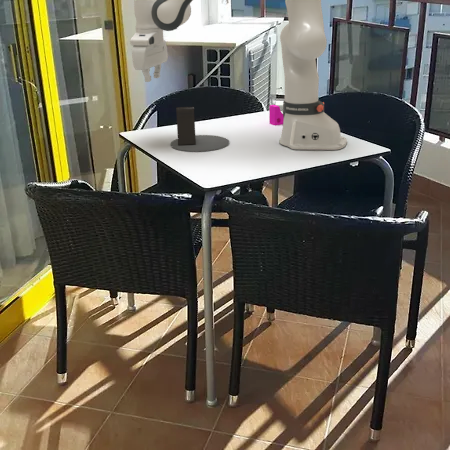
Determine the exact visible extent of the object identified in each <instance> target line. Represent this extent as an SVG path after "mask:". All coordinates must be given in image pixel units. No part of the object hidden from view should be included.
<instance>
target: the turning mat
mask: <svg viewBox="0 0 450 450" xmlns="http://www.w3.org/2000/svg"><path fill="white" fill-rule="evenodd" d="M195 139H196V145H180V146H178V138H175V139H173V140H172V141H171V142H170V147H171V148H173V149H174V150H177V151H179V152H180V151H181V152H188V153H202V152H204V153H205V152H211V151H212V152H213V151H217V150H218V151H219V150H221V149H225V148H226V147H228V146H229V145H230V140H229V139H228V138H226V137H223V136H219V135H211V134H209V135H208V134H195Z"/></svg>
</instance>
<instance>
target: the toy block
mask: <svg viewBox="0 0 450 450" xmlns="http://www.w3.org/2000/svg"><path fill="white" fill-rule="evenodd" d="M268 107H269V113H268V114H269V125H272V126H275V127H276V126H281V125H282V126H283V121H284V117H283V111H282V110H281V107H280V106H279V105H276V104H270V105H269V106H268Z"/></svg>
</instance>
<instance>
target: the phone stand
mask: <svg viewBox="0 0 450 450" xmlns="http://www.w3.org/2000/svg"><path fill="white" fill-rule="evenodd" d="M175 109H176V110H175V111H176V127H177V129H176V131H177V139H178V146H180V145H196V139H195V135H196V122H195V121H196V120H195V106H179V107H178V106H177V107H176V108H175Z"/></svg>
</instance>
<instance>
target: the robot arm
mask: <svg viewBox="0 0 450 450" xmlns="http://www.w3.org/2000/svg"><path fill="white" fill-rule="evenodd" d="M193 1H194V0H133V7H134V17H135V20H136V21H135V33H134V34H133V36H132V37H131V38H130V40H129V42H130V43H129V44H130V46H131V55H132V65H133V67H134V69H135V70H136V71H141V72H142V74H143V76H144V81H145V82H146V83H149V82H152V75H151V74H150V71H151V68H154V71H153V79H160V78H161V70H162V64H165V63H167V62H168V59H169V58H168V57H169V56H168V55H169V54H168V47H167V42H166V40H164V39H165V38H164V31H166V32H171V31H174V30H176V29H178V28H179V27H180V26H182V25H184V24H185V23H186V22H187V21H188V20H189V19H190V17H191V15H192V6H191V4H192V2H193ZM284 3H285V7H286V12H287V13H286V14H287V18H288V19H287V20H288V23H287V24H286V25H284V26H283V27H282V30H281V32H280V34H279V35H280V36H279V38H280V40H279V41H280V45H281V55H282V66H283V74H284V100H283V102H282V103H283V104H282V114H283V117H284V121H283V124H282V129H281V130H282V131H281V134H280V135H281V136H280V138H279V144H280V145H282V146H285V147H287V148H290V149H292V150H310V151H311V150H313V151H314V150H316V151H317V150H323V151H324V150H326V151H327V150H328V151H331V150H332V151H337V150H340V149H343V148H345V147H346V146H347V144H348V140H347V139H348V138H346V137H345V136H341V128H340V125H339V123H338V122H337V121H336V120H334V119H333V118H331V116H329V115H328V114H327V113H325V102H324V101H323V102H322V101H321V100H319V82H320V77H319V72H318V67H317V62H316V59H318V58H320V57H322V55H323V53H324V52H325V51H326V49H327V48H326V47H327V45H328V44H327V37H326V33H325V25H324V17H323V9H322V0H285V2H284Z"/></svg>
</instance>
